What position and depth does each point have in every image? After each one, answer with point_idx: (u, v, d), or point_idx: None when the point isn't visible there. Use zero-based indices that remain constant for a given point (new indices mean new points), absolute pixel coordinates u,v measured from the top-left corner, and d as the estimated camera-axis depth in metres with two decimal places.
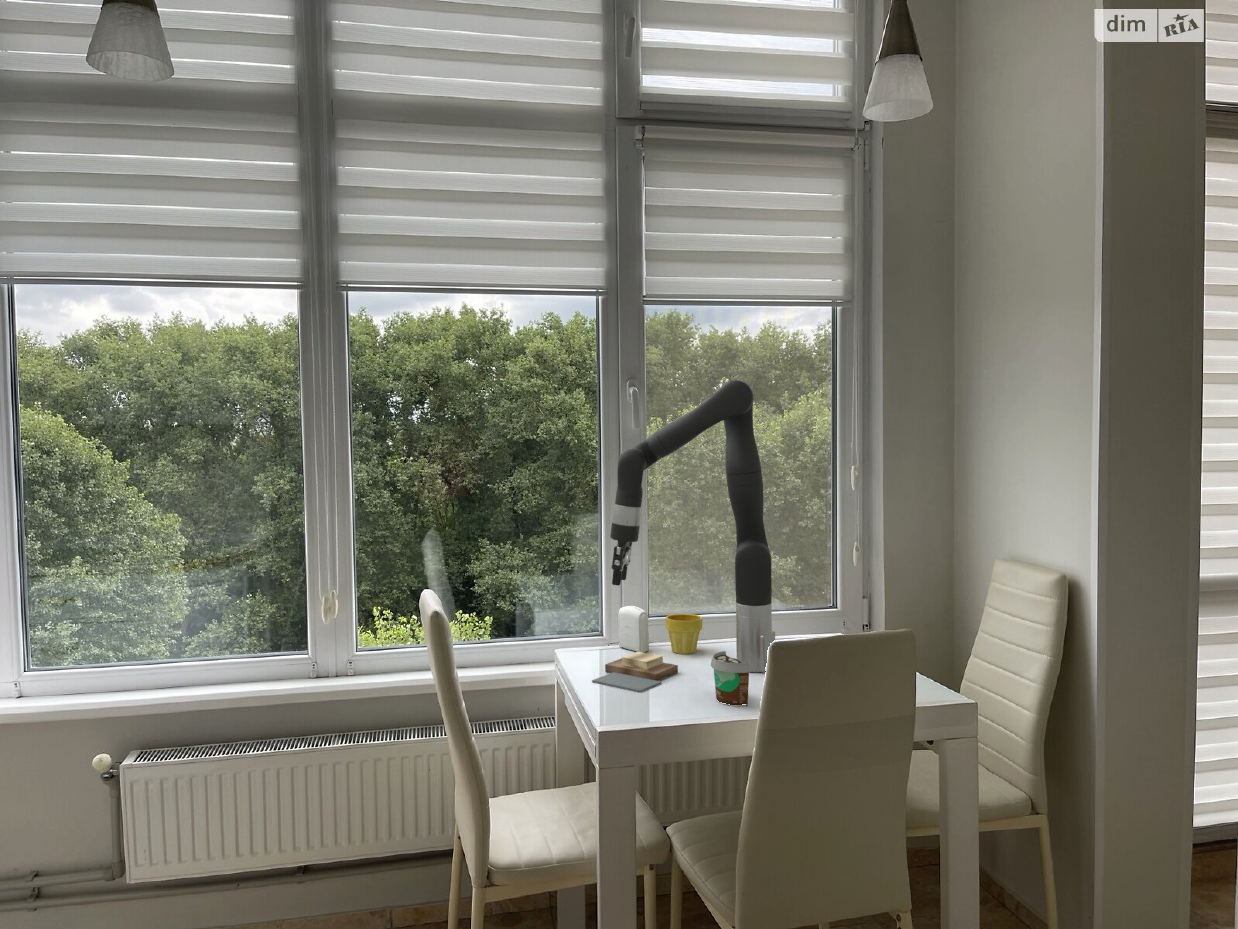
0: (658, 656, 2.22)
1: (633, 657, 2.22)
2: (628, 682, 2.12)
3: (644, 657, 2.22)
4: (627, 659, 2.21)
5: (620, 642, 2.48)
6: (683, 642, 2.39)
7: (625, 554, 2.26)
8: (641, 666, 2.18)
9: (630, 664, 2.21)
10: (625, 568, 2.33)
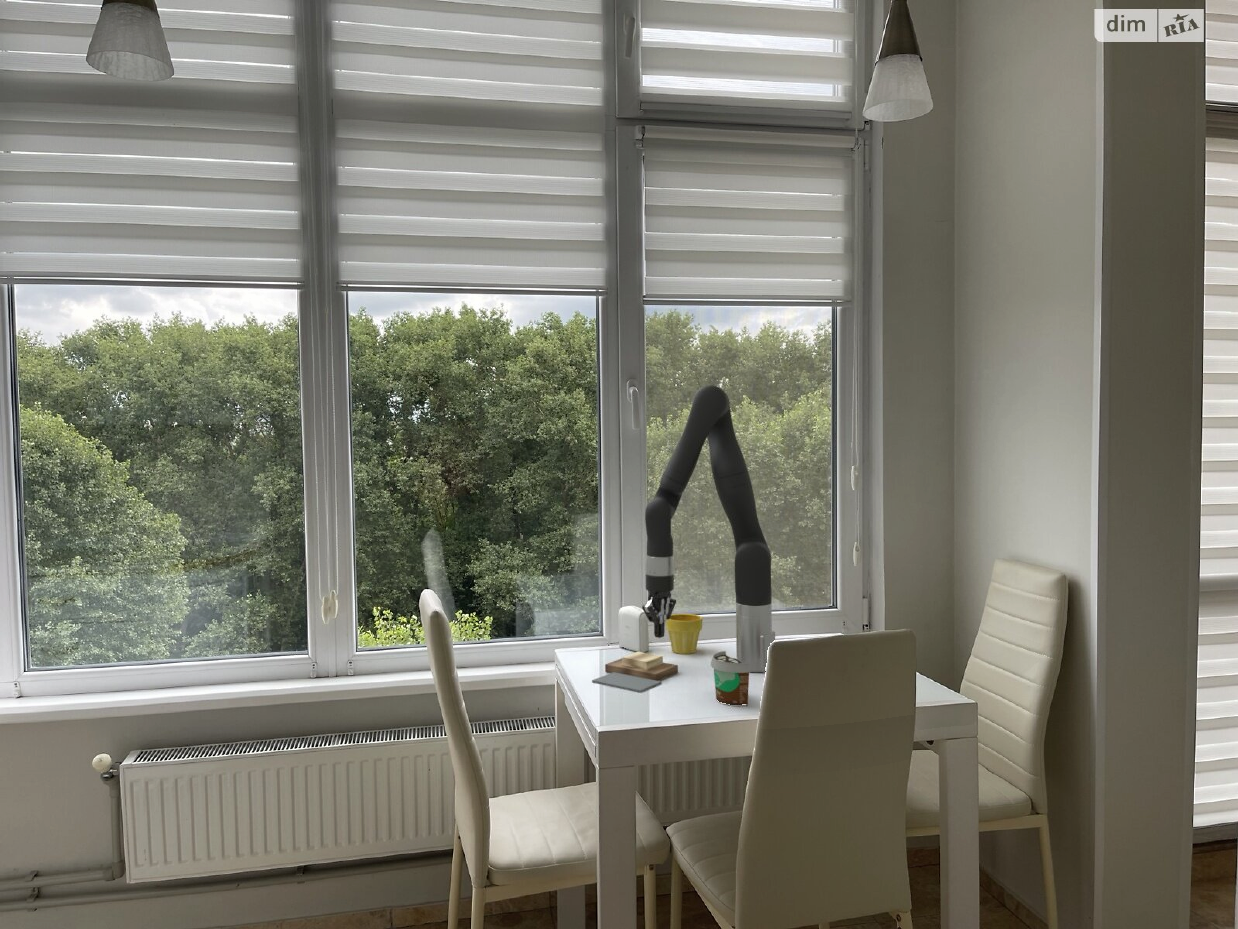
0: (658, 656, 2.22)
1: (633, 657, 2.22)
2: (628, 682, 2.12)
3: (644, 657, 2.22)
4: (627, 659, 2.21)
5: (620, 642, 2.48)
6: (683, 642, 2.39)
7: (659, 607, 2.27)
8: (641, 666, 2.18)
9: (630, 664, 2.21)
10: None
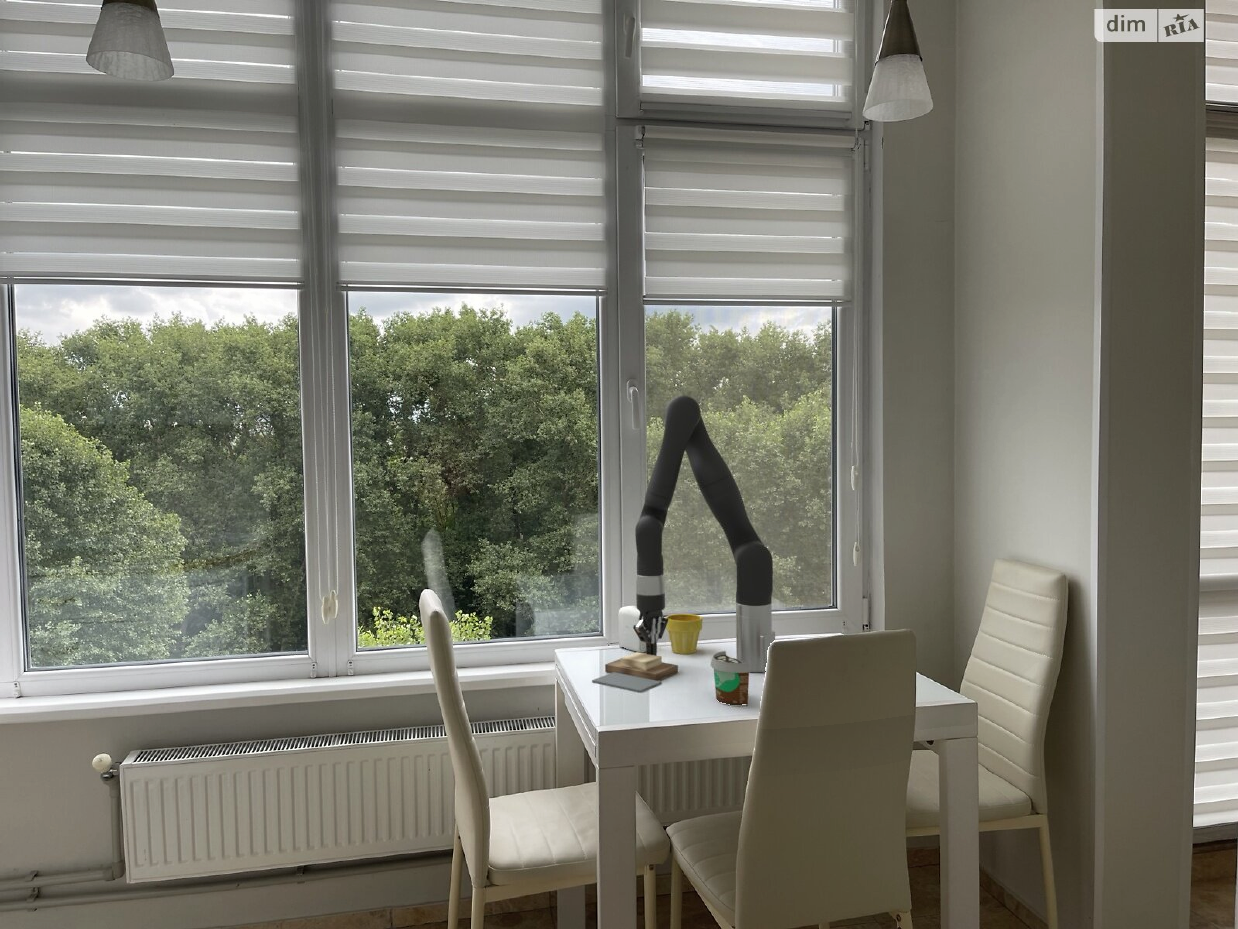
0: (657, 657, 2.22)
1: (632, 658, 2.21)
2: (628, 682, 2.12)
3: (643, 658, 2.21)
4: (626, 660, 2.20)
5: (620, 642, 2.48)
6: (683, 642, 2.39)
7: (651, 626, 2.23)
8: (640, 666, 2.18)
9: (629, 665, 2.20)
10: None
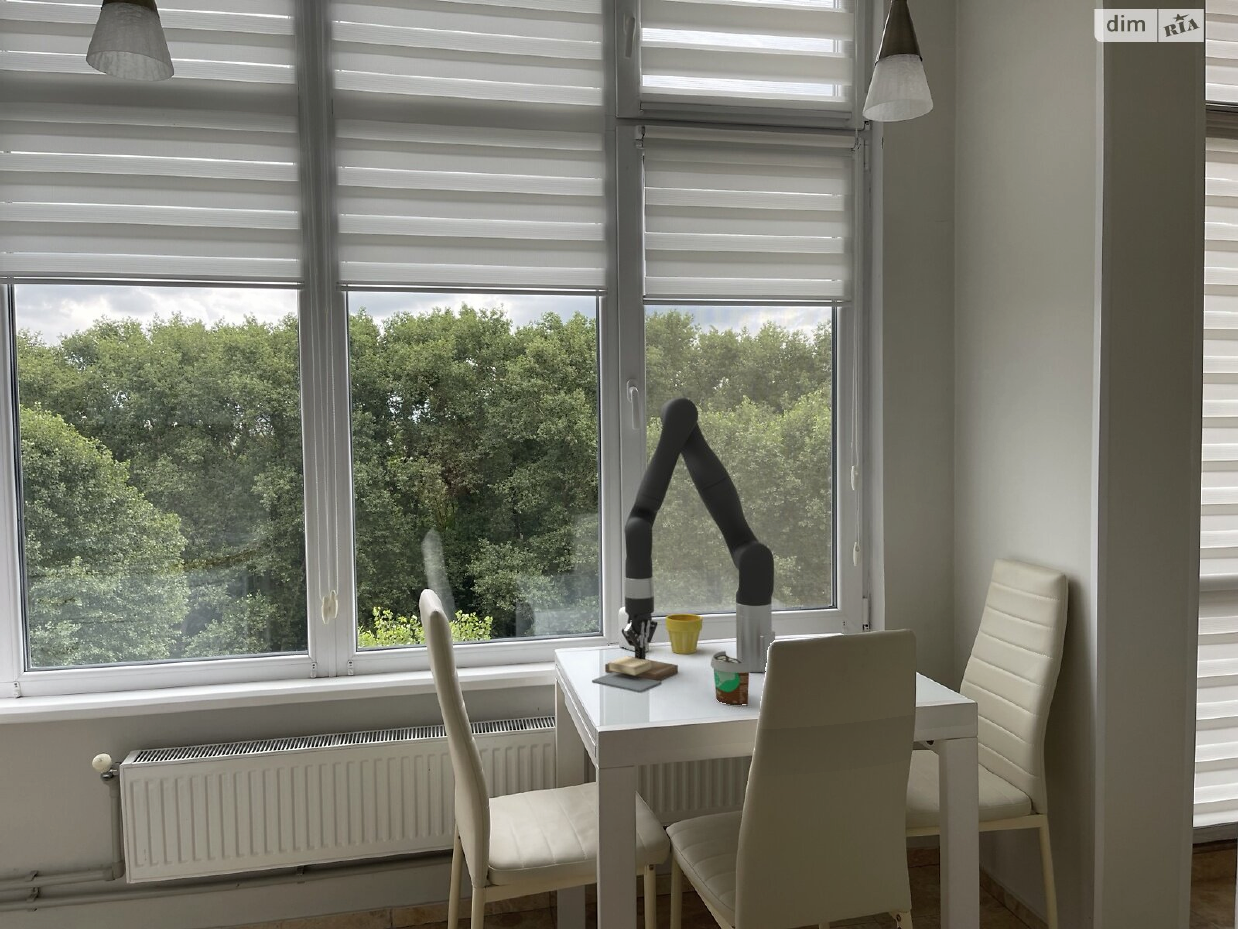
0: (646, 661, 2.18)
1: (621, 662, 2.17)
2: (628, 682, 2.12)
3: (632, 662, 2.17)
4: (614, 665, 2.16)
5: (620, 642, 2.48)
6: (683, 642, 2.39)
7: (639, 630, 2.19)
8: (629, 671, 2.14)
9: (618, 669, 2.16)
10: None
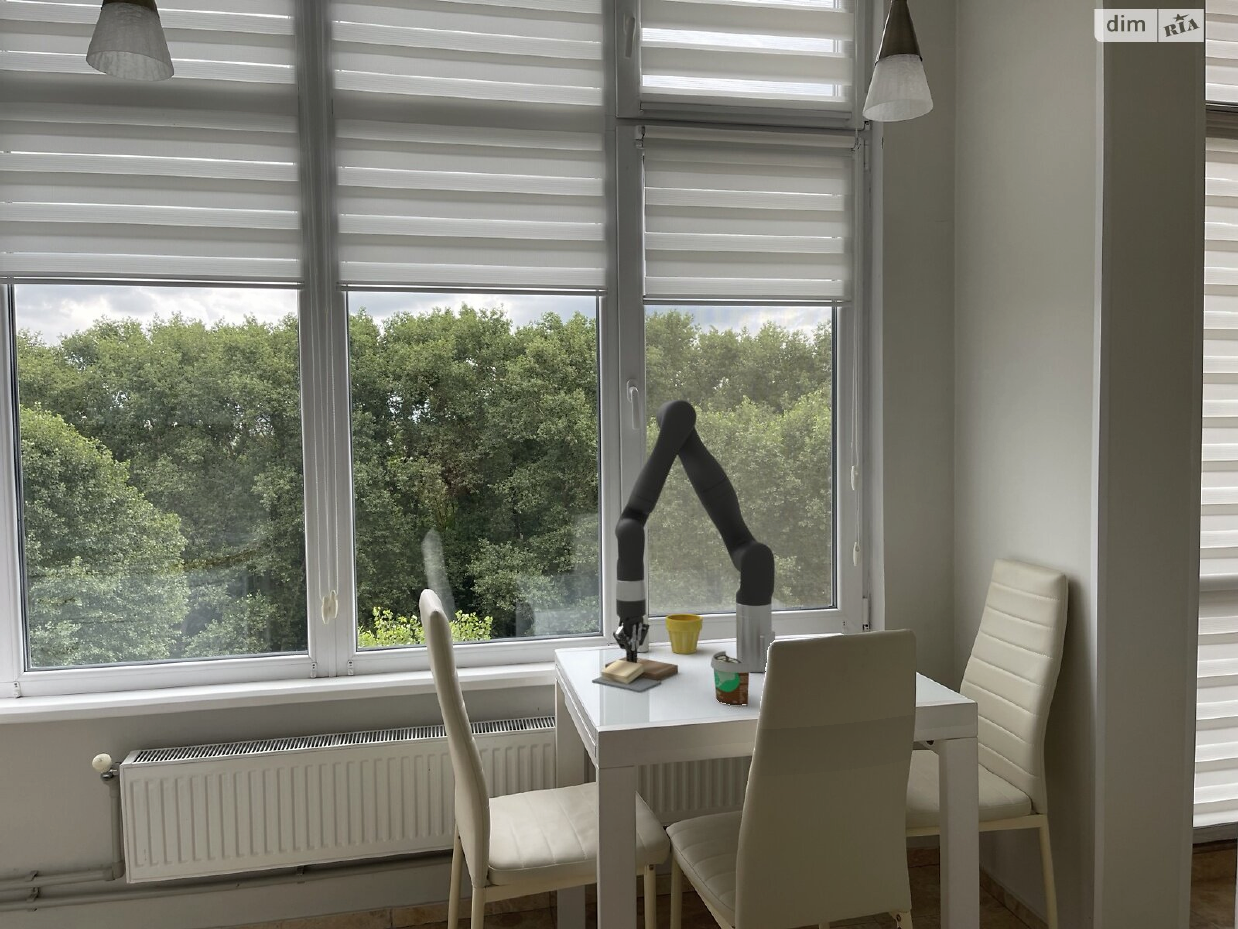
0: (638, 665, 2.15)
1: (612, 670, 2.14)
2: None
3: (623, 669, 2.14)
4: (606, 674, 2.14)
5: None
6: (683, 642, 2.39)
7: (631, 633, 2.17)
8: (621, 680, 2.11)
9: (610, 678, 2.13)
10: None
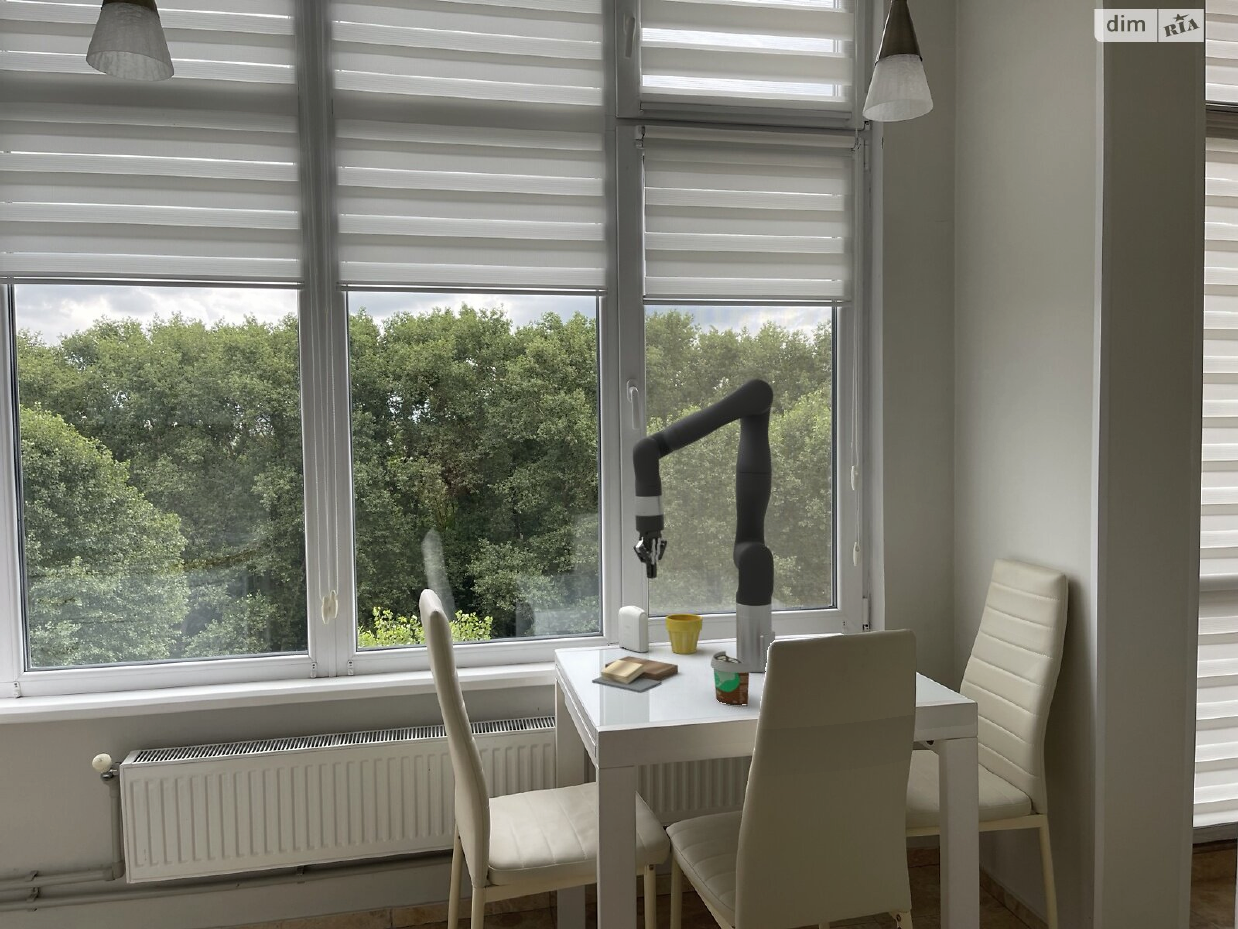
0: (638, 665, 2.15)
1: (612, 670, 2.14)
2: None
3: (623, 669, 2.14)
4: (606, 674, 2.14)
5: (620, 642, 2.48)
6: (683, 642, 2.39)
7: (651, 547, 2.25)
8: (621, 681, 2.11)
9: (610, 678, 2.13)
10: None
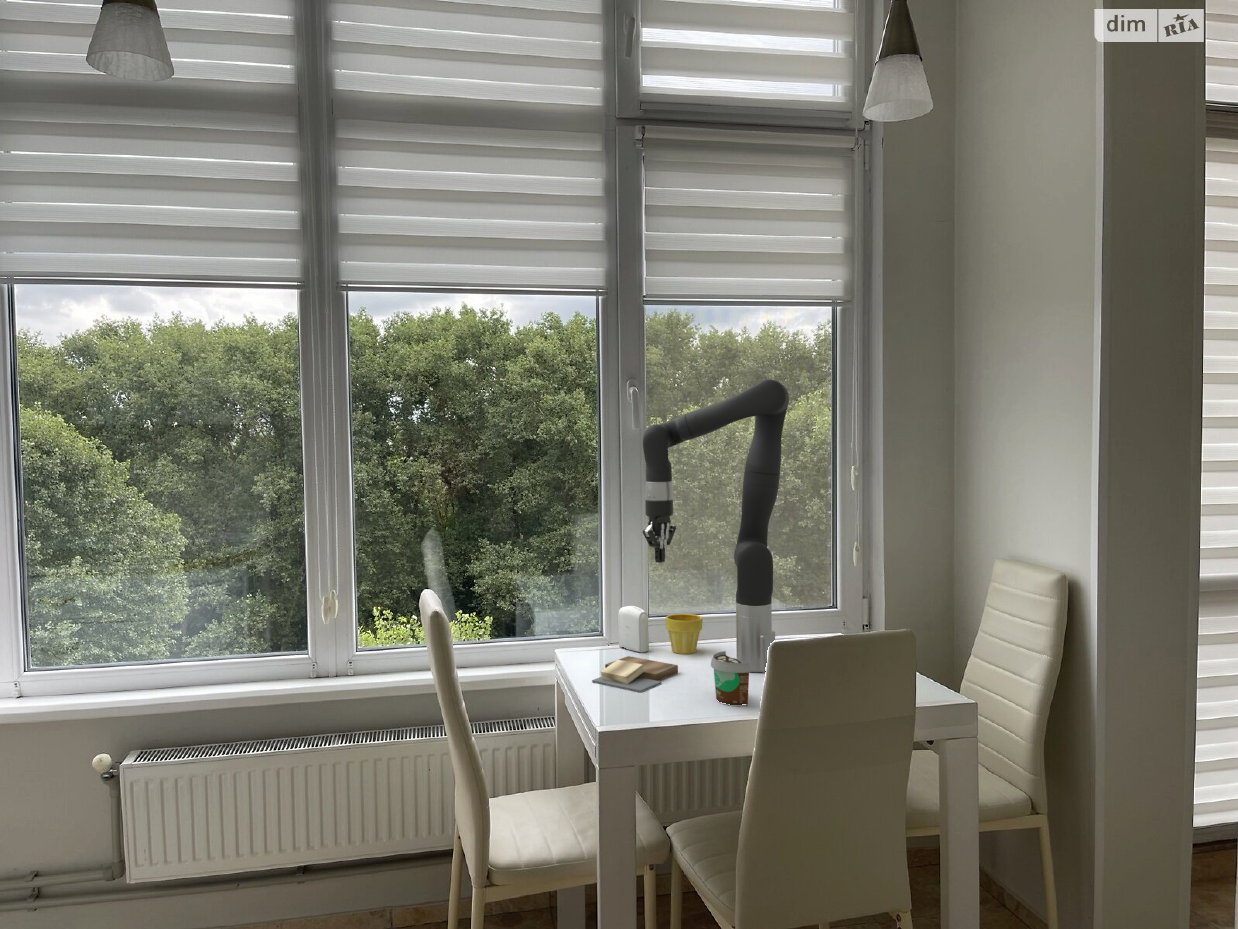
0: (638, 665, 2.15)
1: (612, 670, 2.14)
2: None
3: (623, 669, 2.14)
4: (606, 674, 2.14)
5: (620, 642, 2.48)
6: (683, 642, 2.39)
7: (659, 531, 2.29)
8: (621, 681, 2.11)
9: (610, 678, 2.13)
10: None
